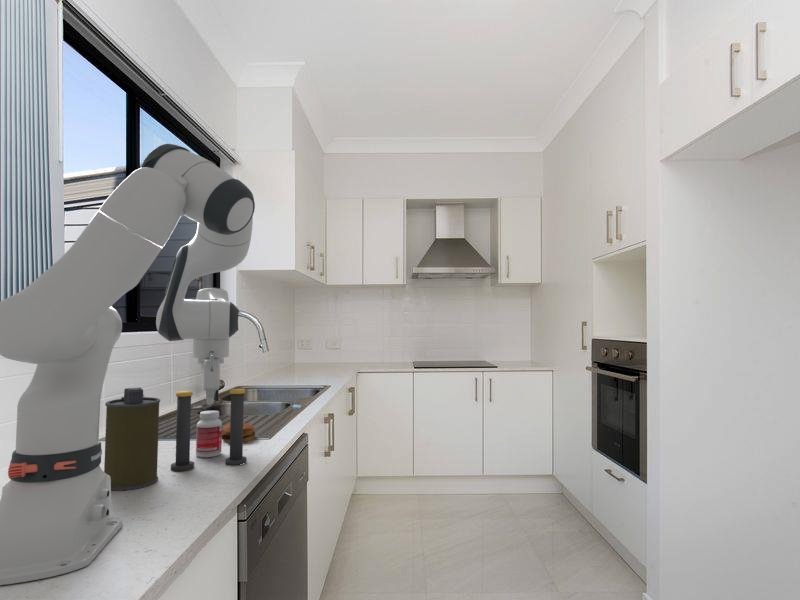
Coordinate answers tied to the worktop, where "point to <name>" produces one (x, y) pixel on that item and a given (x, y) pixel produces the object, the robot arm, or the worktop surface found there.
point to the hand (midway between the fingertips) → (209, 403)
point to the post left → (183, 432)
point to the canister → (132, 440)
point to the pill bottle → (209, 434)
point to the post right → (236, 428)
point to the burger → (247, 433)
